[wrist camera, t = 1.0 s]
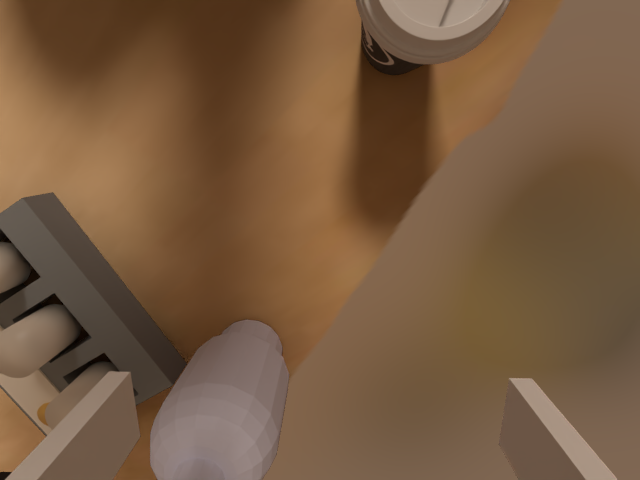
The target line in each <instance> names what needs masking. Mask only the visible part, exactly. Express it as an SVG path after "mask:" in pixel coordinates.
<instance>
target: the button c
mask: <svg viewBox="0 0 640 480" xmlns="http://www.w3.org/2000/svg"><path fill="white" fill-rule="evenodd" d="M109 371H113V372H120V371H119V370H118V369H117V367H116V366H115V365H114V364H113V363H111V362H106V361H99V362H95V363H93V364H91V365H90V366H89V367H88V368H87V369H86V370H85V371H84V372H83V373H81V374H80V375H79V376H78V377H77V378H76V379H75V380H74V381H73V382H72V383H71V384H70V385H68V386H67V387H66V388H65V389H64V390H63V391H62V392H61V393H60V394H59V395H58V396H57V397H55V398H54V399H53V400H52V401H51V402H50V403H49V404H48V405H47V407H46V410H45V419H46V422H47V424H48V426H49V427H50V428H51V429H52V430H53V429H54V428H55V427H56V426H57V425H58V424H59V423H60V422H61V421H62V420H63V419H64V418H65V417H66V416H67V415H68V414H69V413H70V411H71V410H72V409H73V408H74V407H75V406H76V405H77V404H78V403H79V402H80V401H81V400H82V399H83V398H84V397H85V396H86V395H87V394H88V393H89V392H90V391H91V390H92V389H93V388H94V386H95V385H96V384H97V383H98V382H99V381H100V380H101V379H102V378H103V377H104V376H105V375H106V374H107V373H108V372H109Z"/></svg>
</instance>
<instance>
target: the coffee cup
mask: <svg viewBox="0 0 640 480" xmlns="http://www.w3.org/2000/svg"><path fill="white" fill-rule="evenodd" d="M509 2H510V0H356V5H357V8H358V11H359V14H360V17H361V19H362V47H363V51H364V54H365V56H366V58H367V60H368V61H369V63H370V64H371V65H372V66H373V67H374V68H376V69H377V70H379V71H380V72H383V73H385V74H390V75H399V74H403V73H406V72H409V71H411V70H413V69H415V68H418V67H420V66H422V65H424V64H439V63H444V62H448V61H451V60H454V59H456V58H459V57H461V56H463V55H465V54H466V53H468V52H470V51H471V50H473V49H474V48H475V47H477V46H478V45H479V44H480V43H481V42H483V41H484V40H485V39H486V38H487V37H488V35H489V34H490V33H491V32H492V31H493V30H494V28H495V27H496V25H497V24H498V23H499V21H500V19H501V18H502V16H503V14H504V12H505V10H506V8H507V6H508V4H509Z"/></svg>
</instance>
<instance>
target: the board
mask: <svg viewBox="0 0 640 480" xmlns="http://www.w3.org/2000/svg"><path fill="white" fill-rule="evenodd" d="M6 237H8V238H9V239H10V241H11V242H12V243H13V244H14V245H15V247H16V248H17V249H18V250H19V251H20V252H21V254H22V255H23V256H24V257H25V258H26V260H27V261H28V262H29V263H30V264H31V266H32V267H33V268H34V269H35V270H36V272H37V273H38V274H39V275H40V276H41V277H40V278H39V279H37V280H36V281H34V282H33V283H31V284H30V285H28V286H27V287H26V285H25V284H24V283H22V284H20V285H18V286H16V287H14V288H11V289H9V290H7V291H5V292H3V293H0V332H1V331H3V330H4V329H6V328H8V327H10V326H11V325H13V324H15V323H17V322H18V321H20V320H22V319H24V318H25V317H27V316H29V315H31V314H32V313H34V312H36V311H38V310H39V309H41V308H43V305H42V304H41V303H43V302H44V301H46V300H48V299H49V298H51V297H52V296H54V295H55V294H56V296H57V297H58V298H59V299H60V300H61V302H62V303H63V304H64V305H65V306H66V308H67V309H68V310H69V311H70V312H71V313H72V315H73V316H74V317H75V318H76V319H77V321H78V322H79V323H80V324H81V325H82V327H83V328H84V329H85V330H86V331H87V333H88V334H89V336H87V337H85V338H84V339H82V340H80V341H79V342H77V343H74V342H73V343H71V344H70V345H69V346H67V347H66V348H65V349H63V350H62V351H61V352H60V353H58V354H57V355H56V356H54V357H53V358H52V359H51V360H49V361H48V362H47V363H45V364H44V365H43V366H41V367H40V368H39V369H38V370H36V371H35V372H34V373H32V374H31V375H29V376H27V377H24V378H12V377H8V376H6V375H4V374H2V373H0V388H1V389H2V390H3V391H4V392H5V393H6V394H7V395H8V396H9V397H10V398H11V399H12V400H13V401H14V403H15V404H16V405H17V406H18V407H19V408H20V409H21V410H22V411H23V412H24V413H25V414H26V415H27V416H28V417H29V419H30V420H31V421H32V422H33V423H34V424H35V425H36V426H37V427H38V428H39V429H40V430H41V431H42V432H43V434H44V435H45V436H47V435H48V434H49V433H50V432H51V431H52V429H51V428H50V427H49V426H48V424H47V422H46V419H45V410H46V407H47V405H48V404H49V403H50V402H51V401H52V400H53V399H54V398H55V397H57V396H58V395H59V394H60V393H61V392H62V391H63V390H64V389H65V388H66V387H67V386H68V385H70V384H71V383H72V382H73V381H74V380H75V379H76V378H77V377H78V376H79V375H80V374H81V373H83V372H84V371H85V370H86V369H87V368H88V367H89V366H90V365H91V364H92V363H91V362H90V361H91V360H92V359H94V358H96V357H97V356H99V355H101V354H103V353H105V354H106V355H107V357H108V358H109V359H110V360H111V361H112V363H113V364H114V365H115V366H116V367H117V369H118V370H119V371H120V372H131V379H132V385H133V392H134V398H135V405H138V404H140V403H142V402H143V401H145V400H147V399H149V398H151V397H152V396H154V395H156V394H158V393H160V392H162V391H163V390H165V389H167V388H169V387H171V386H172V385H174V383H175V381H176V380H177V378H178V377H179V375H180V374H181V372H182V371H183V369H184V368H185V366H186V365H187V363H186V362H185V361H184V359H183V358H182V357H181V356H180V354H179V353H178V352H177V351H176V349H175V348H174V347H173V345H172V344H171V343H170V342H169V340H168V339H167V338H166V336H165V335H164V334H163V333H162V331H161V330H160V329H159V327H158V326H157V325H156V324H155V322H154V321H153V320H152V319H151V317H150V316H149V315H148V313H147V312H146V311H145V310H144V308H143V307H142V306H141V304H140V303H139V302H138V301H137V299H136V298H135V297H134V296H133V294H132V293H131V292H130V290H129V289H128V288H127V287H126V285H125V284H124V283H123V281H122V280H121V279H120V278H119V276H118V275H117V274H116V273H115V271H114V270H113V269H112V267H111V266H110V265H109V264H108V262H107V261H106V260H105V258H104V257H103V256H102V255H101V253H100V252H99V251H98V249H97V248H96V247H95V246H94V244H93V243H92V242H91V241H90V239H89V238H88V237H87V235H86V234H85V233H84V232H83V230H82V229H81V228H80V226H79V225H78V224H77V223H76V221H75V220H74V219H73V218H72V216H71V215H70V214H69V212H68V211H67V210H66V209H65V207H64V206H63V205H62V203H61V202H60V201H59V200H58V198H57V197H56V196H55V195H54V193H47V194H42V195H36V196H30V197H25V198H21V199H20V200H19V201H17V202H16V203H14V204H13V205H12V206H10V207H9V208H7V209H6V210H5V211H3V212H2V213H0V241H1V240H3V239H4V238H6Z"/></svg>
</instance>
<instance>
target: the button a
mask: <svg viewBox="0 0 640 480" xmlns="http://www.w3.org/2000/svg"><path fill="white" fill-rule="evenodd" d="M30 271H31V266H30V263H29V262H28V261H27V260H26V258H25V257H24V256H23V255H22V254H21V252H20V251H19V250H18V249H17V248H16V247H15V245H14V244H11V243H8V242H0V293H3V292H5V291H7V290H9V289H11V288H14V287H16V286H18V285H20V284H22V283H24V282H25V281H26V280H27V279H28V277H29V275H30Z"/></svg>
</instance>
